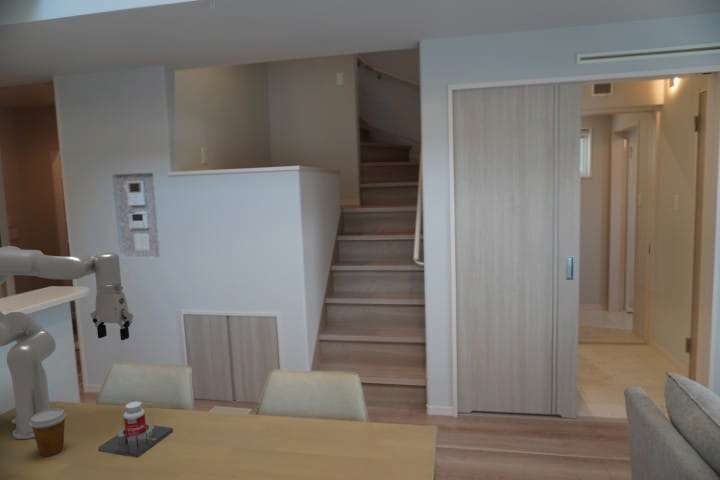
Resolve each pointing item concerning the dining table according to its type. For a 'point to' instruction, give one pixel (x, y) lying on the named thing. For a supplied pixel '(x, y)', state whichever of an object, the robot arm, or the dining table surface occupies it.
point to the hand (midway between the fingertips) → (113, 338)
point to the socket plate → (137, 448)
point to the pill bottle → (134, 419)
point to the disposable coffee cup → (49, 431)
